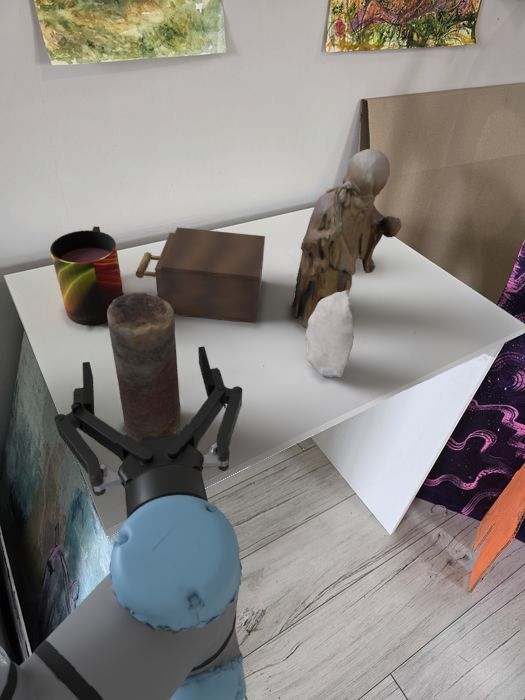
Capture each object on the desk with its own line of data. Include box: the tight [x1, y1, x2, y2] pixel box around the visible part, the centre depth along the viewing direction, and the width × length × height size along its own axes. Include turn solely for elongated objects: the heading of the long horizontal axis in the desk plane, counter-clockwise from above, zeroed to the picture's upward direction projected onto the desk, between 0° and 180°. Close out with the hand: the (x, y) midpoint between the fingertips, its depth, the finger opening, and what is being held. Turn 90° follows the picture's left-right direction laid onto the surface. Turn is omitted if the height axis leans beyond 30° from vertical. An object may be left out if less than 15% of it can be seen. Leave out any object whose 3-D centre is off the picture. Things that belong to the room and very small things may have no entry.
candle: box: [107, 292, 182, 442], centre depth 60 cm, size 8×7×20 cm
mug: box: [49, 225, 125, 327], centre depth 81 cm, size 10×14×12 cm
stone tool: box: [304, 290, 355, 378], centre depth 71 cm, size 9×3×15 cm, turn 41°
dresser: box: [161, 226, 266, 324], centre depth 85 cm, size 16×13×10 cm
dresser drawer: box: [134, 232, 175, 300], centre depth 85 cm, size 19×11×8 cm, turn 86°
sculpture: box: [291, 148, 403, 329], centre depth 76 cm, size 16×11×30 cm
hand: (146, 361), depth 60 cm, fingers open, 13 cm apart
